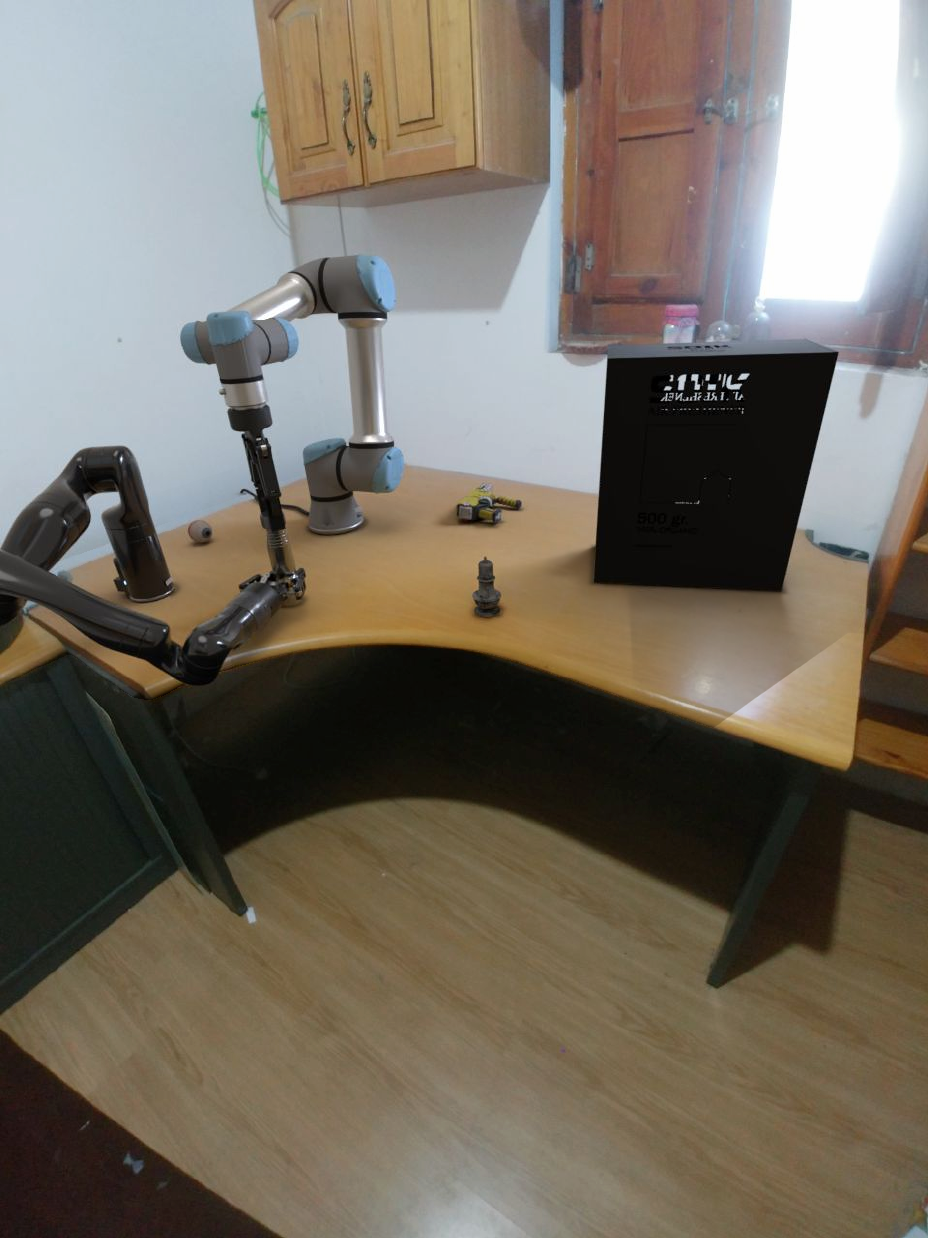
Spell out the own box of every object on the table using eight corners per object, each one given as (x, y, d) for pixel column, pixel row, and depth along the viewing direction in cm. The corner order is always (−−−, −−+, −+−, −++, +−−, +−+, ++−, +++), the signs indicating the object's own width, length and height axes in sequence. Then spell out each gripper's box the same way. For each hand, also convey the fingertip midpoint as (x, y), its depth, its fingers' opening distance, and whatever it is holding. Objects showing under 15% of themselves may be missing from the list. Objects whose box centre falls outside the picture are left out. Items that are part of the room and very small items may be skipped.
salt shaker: (499, 618, 119) (498, 563, 113) (470, 616, 121) (467, 562, 115) (503, 604, 124) (502, 550, 118) (475, 602, 125) (473, 549, 119)
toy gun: (529, 487, 179) (482, 480, 183) (508, 512, 159) (455, 503, 163) (528, 503, 181) (481, 495, 185) (506, 528, 161) (454, 519, 165)
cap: (259, 530, 120) (256, 518, 119) (265, 521, 124) (263, 509, 123) (282, 529, 120) (280, 516, 118) (288, 520, 124) (286, 508, 123)
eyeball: (201, 547, 160) (195, 526, 157) (186, 543, 163) (180, 522, 160) (220, 539, 164) (214, 518, 161) (205, 536, 167) (199, 515, 164)
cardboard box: (760, 550, 140) (805, 338, 118) (781, 591, 123) (838, 351, 101) (595, 545, 148) (608, 345, 125) (593, 582, 131) (607, 358, 108)
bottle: (302, 604, 129) (283, 519, 119) (279, 608, 128) (259, 522, 119) (302, 595, 133) (284, 511, 123) (280, 598, 132) (260, 514, 123)
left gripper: (223, 623, 119) (265, 585, 133) (289, 628, 116) (325, 588, 130) (213, 590, 115) (257, 553, 130) (281, 594, 112) (319, 556, 127)
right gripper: (217, 401, 116) (244, 514, 128) (237, 417, 101) (267, 544, 113) (256, 395, 119) (279, 506, 131) (281, 410, 104) (306, 534, 116)
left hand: (291, 571), depth 130 cm, fingers closed on bottle, 4 cm apart
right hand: (273, 523), depth 122 cm, fingers open, 7 cm apart
